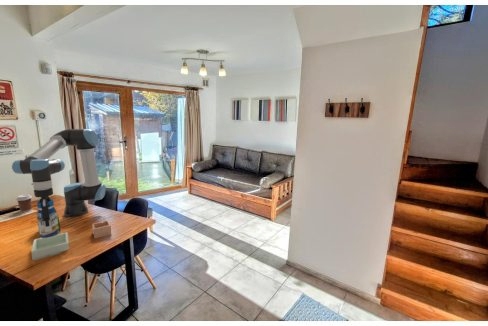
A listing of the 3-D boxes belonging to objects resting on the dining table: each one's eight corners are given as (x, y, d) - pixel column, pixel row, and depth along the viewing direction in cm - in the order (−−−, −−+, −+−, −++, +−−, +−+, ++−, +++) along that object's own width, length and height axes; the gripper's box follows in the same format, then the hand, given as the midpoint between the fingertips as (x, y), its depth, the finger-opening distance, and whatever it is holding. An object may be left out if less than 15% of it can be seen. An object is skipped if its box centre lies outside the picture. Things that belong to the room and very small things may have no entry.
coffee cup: (15, 211, 178) (12, 196, 176) (28, 207, 187) (26, 193, 185) (23, 213, 176) (20, 198, 174) (36, 208, 184) (34, 194, 182)
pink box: (93, 234, 147) (92, 223, 146) (109, 230, 152) (108, 220, 151) (94, 239, 140) (93, 229, 139) (111, 235, 145) (110, 225, 144)
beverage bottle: (57, 230, 134) (52, 197, 130) (61, 235, 128) (57, 200, 125) (38, 235, 127) (32, 201, 124) (41, 241, 122) (36, 204, 118)
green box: (35, 247, 131) (34, 239, 130) (68, 239, 140) (67, 232, 139) (32, 260, 119) (31, 251, 118) (69, 251, 128) (68, 242, 127)
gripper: (35, 185, 128) (41, 223, 132) (31, 194, 113) (38, 238, 117) (52, 183, 133) (58, 220, 137) (51, 191, 117) (57, 233, 121)
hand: (48, 228), depth 127 cm, fingers closed on beverage bottle, 7 cm apart
